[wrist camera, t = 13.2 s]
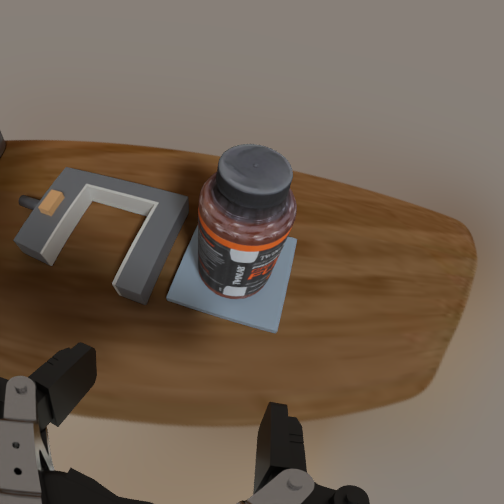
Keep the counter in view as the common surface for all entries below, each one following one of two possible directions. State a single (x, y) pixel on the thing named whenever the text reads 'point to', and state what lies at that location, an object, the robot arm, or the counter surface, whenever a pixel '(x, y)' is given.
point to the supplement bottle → (244, 220)
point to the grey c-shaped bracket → (113, 194)
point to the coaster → (237, 310)
